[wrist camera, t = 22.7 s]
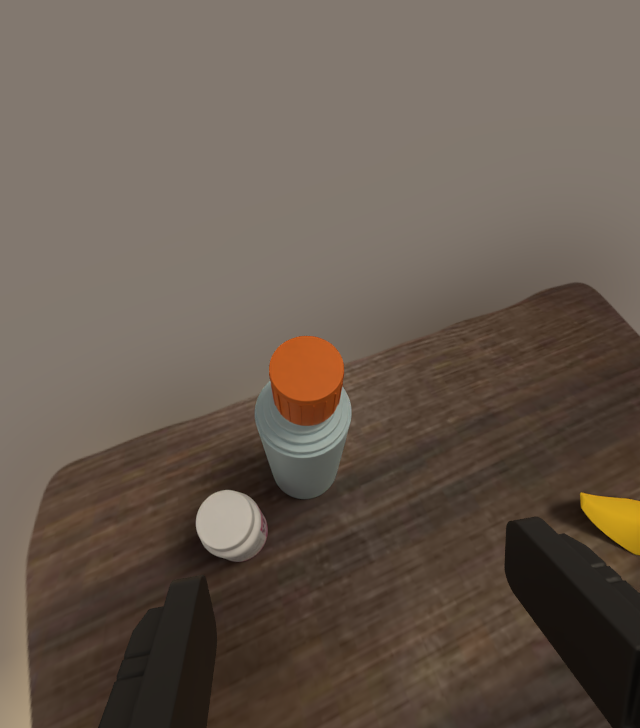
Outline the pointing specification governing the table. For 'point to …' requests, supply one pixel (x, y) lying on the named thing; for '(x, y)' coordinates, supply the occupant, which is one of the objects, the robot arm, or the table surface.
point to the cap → (306, 380)
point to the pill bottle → (231, 526)
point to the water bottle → (302, 446)
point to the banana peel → (615, 518)
